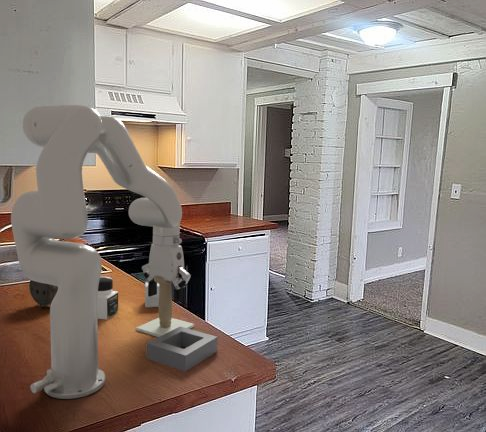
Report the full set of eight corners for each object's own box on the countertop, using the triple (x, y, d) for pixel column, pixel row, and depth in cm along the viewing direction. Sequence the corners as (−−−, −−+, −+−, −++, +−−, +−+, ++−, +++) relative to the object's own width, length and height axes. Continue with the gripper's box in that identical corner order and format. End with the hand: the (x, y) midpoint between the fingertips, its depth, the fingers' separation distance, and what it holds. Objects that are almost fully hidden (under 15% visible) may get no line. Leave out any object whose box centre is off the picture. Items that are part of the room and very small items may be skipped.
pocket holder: (185, 371, 106) (185, 355, 105) (146, 358, 112) (146, 343, 111) (217, 351, 117) (217, 336, 117) (179, 340, 123) (180, 326, 123)
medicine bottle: (107, 320, 136) (107, 282, 135) (86, 318, 138) (85, 280, 136) (118, 312, 143) (118, 276, 142) (98, 310, 145) (97, 274, 143)
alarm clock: (64, 308, 146) (63, 259, 143) (51, 313, 141) (49, 263, 139) (40, 302, 150) (38, 255, 148) (26, 307, 145) (24, 258, 143)
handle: (152, 324, 132) (151, 275, 130) (172, 321, 135) (172, 272, 133) (157, 330, 128) (157, 279, 126) (178, 326, 131) (178, 276, 129)
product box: (163, 307, 150) (163, 286, 149) (144, 307, 148) (144, 286, 147) (162, 301, 156) (163, 280, 155) (145, 302, 154) (145, 281, 153)
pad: (168, 339, 123) (168, 337, 123) (135, 330, 129) (135, 327, 129) (194, 326, 134) (194, 323, 134) (163, 318, 140) (163, 315, 140)
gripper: (198, 242, 127) (196, 300, 129) (152, 235, 135) (151, 290, 137) (181, 246, 120) (180, 307, 122) (134, 238, 129) (133, 296, 131)
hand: (165, 298), depth 130 cm, fingers open, 9 cm apart
